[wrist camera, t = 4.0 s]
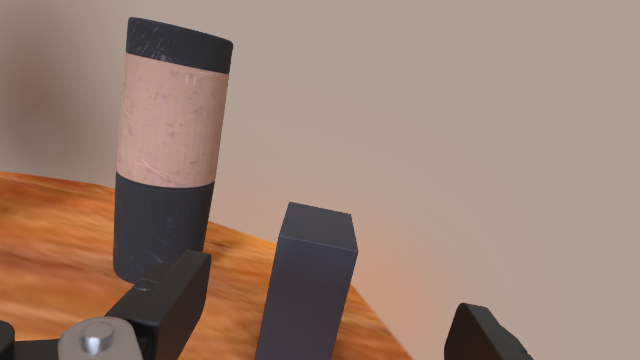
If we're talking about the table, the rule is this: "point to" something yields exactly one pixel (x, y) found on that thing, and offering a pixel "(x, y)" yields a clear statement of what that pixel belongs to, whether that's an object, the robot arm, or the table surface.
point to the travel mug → (167, 143)
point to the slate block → (307, 284)
